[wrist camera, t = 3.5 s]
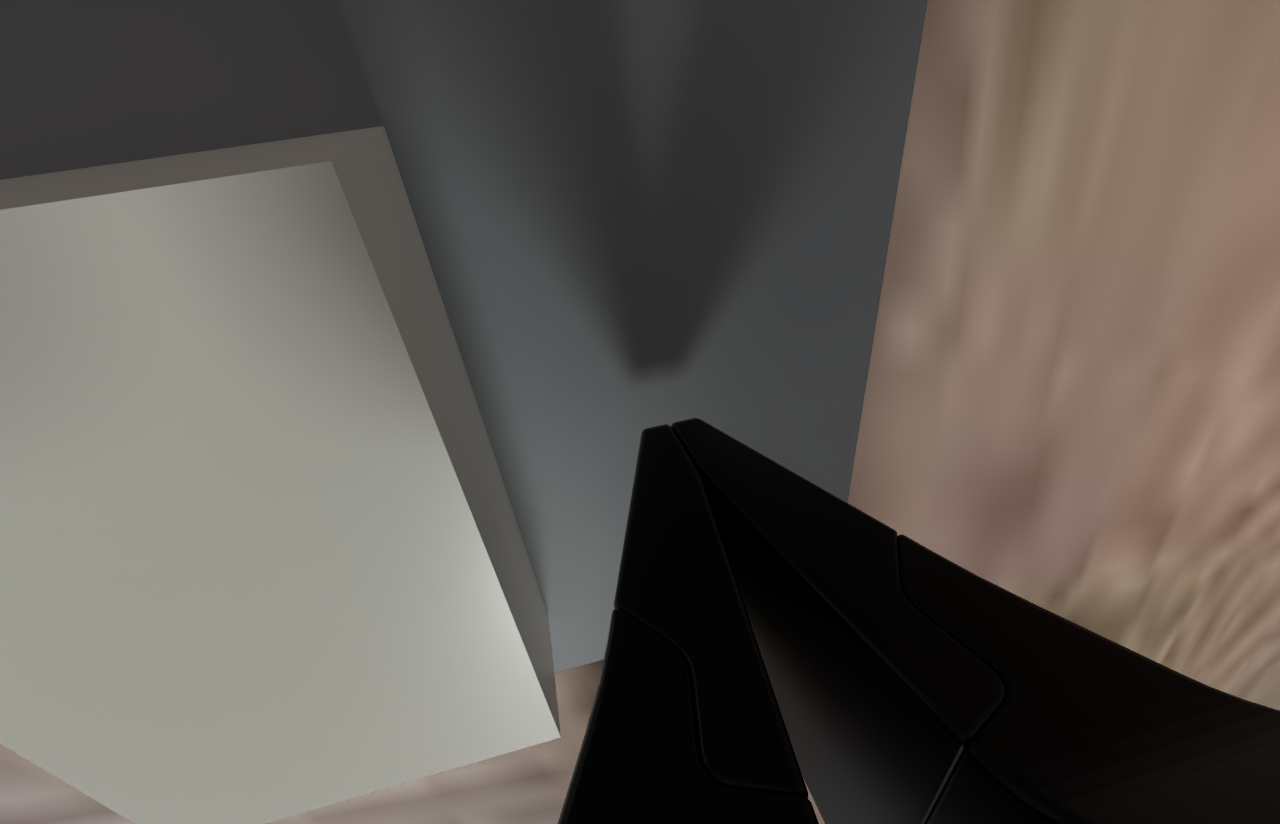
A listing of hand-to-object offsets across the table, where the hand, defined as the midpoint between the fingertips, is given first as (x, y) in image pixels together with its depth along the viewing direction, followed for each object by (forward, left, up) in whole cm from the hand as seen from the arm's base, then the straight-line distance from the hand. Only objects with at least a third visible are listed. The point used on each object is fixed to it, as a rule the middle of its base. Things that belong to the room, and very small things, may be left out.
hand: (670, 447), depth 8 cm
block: (0, +6, -1) cm, 6 cm away
